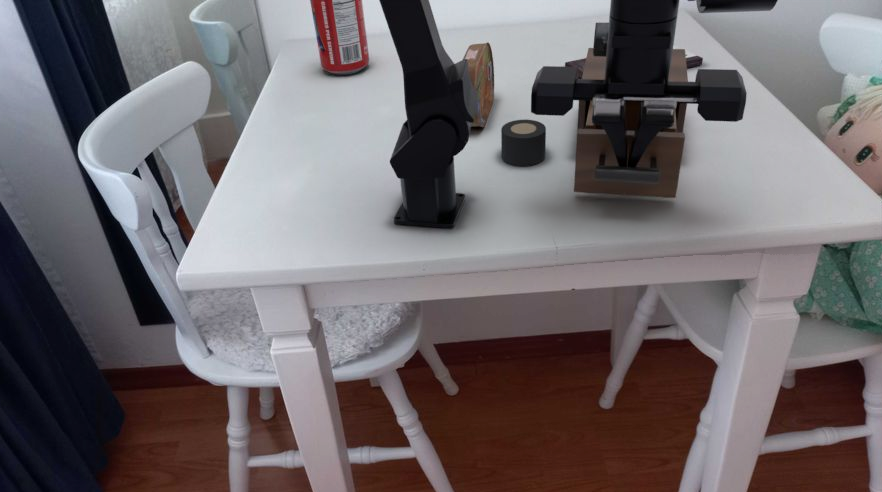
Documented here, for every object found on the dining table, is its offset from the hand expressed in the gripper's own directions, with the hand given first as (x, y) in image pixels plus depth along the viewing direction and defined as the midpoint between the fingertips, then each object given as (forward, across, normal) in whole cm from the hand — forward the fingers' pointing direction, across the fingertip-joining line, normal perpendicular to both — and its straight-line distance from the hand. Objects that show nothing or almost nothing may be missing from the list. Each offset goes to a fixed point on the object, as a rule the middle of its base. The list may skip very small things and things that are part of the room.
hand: (626, 174), depth 70 cm
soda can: (+5, +45, -39) cm, 60 cm away
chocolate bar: (+4, 0, -42) cm, 43 cm away
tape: (+4, +12, -11) cm, 17 cm away
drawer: (+3, 0, -6) cm, 7 cm away
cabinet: (+4, 0, -18) cm, 19 cm away
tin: (+5, +20, -23) cm, 31 cm away
